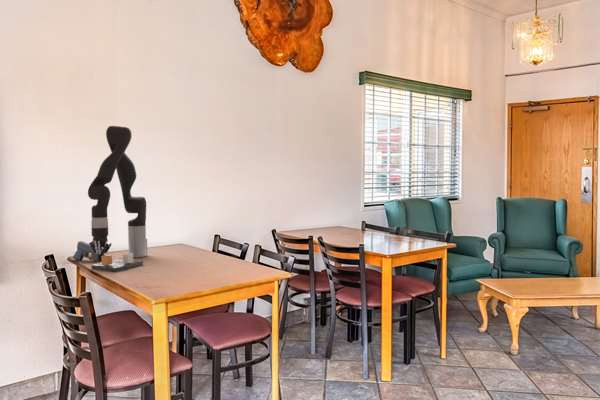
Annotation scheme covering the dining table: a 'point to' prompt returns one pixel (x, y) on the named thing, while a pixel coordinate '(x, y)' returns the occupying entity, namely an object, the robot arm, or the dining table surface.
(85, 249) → the toy
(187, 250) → the dining table surface
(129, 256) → the fader white
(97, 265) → the console
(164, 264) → the dining table surface
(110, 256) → the fader orange
